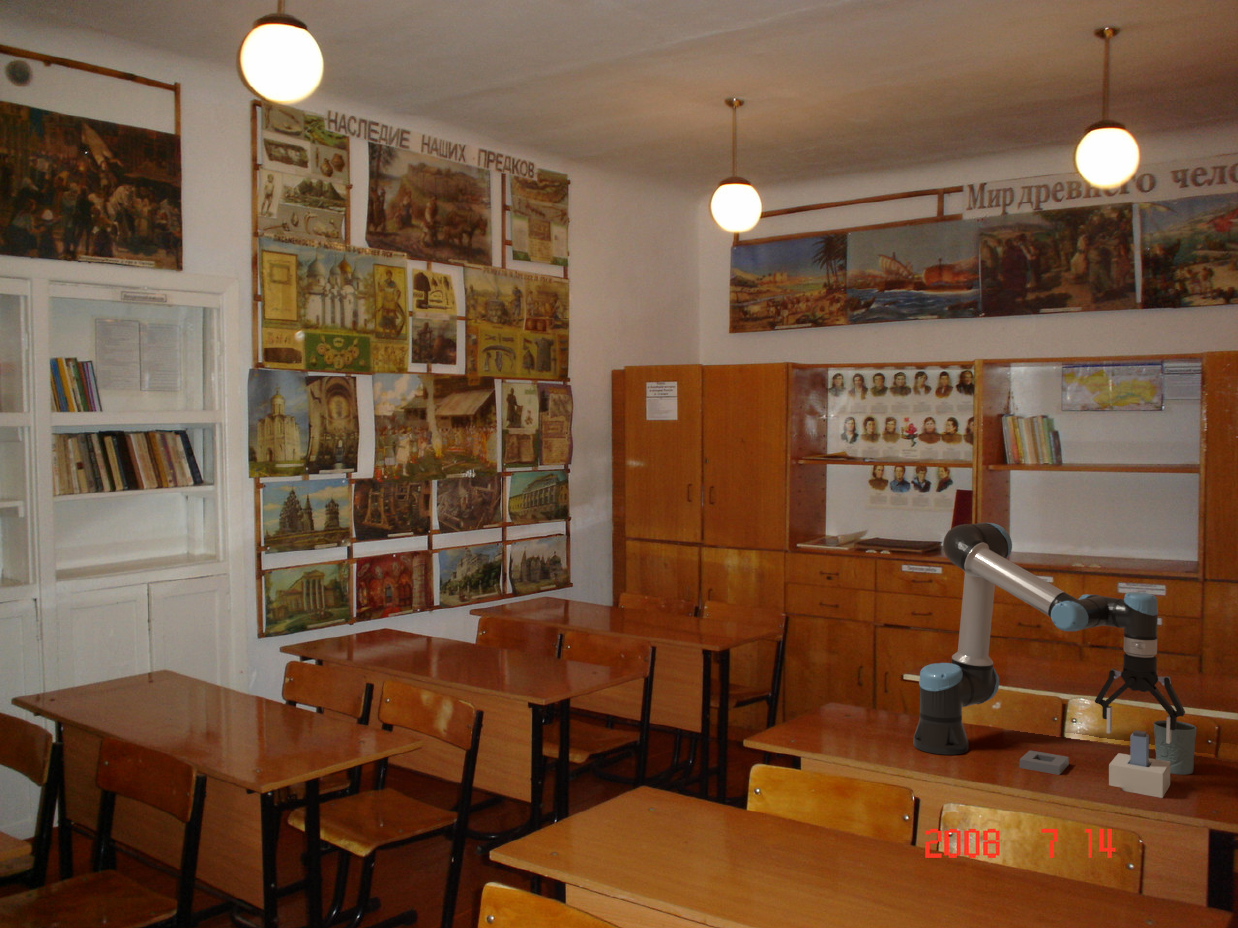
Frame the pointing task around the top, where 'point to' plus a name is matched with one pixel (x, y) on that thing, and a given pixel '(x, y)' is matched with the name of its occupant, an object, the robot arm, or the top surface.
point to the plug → (1139, 748)
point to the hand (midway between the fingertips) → (1138, 737)
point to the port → (1140, 776)
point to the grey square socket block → (1044, 762)
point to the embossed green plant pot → (1176, 746)
